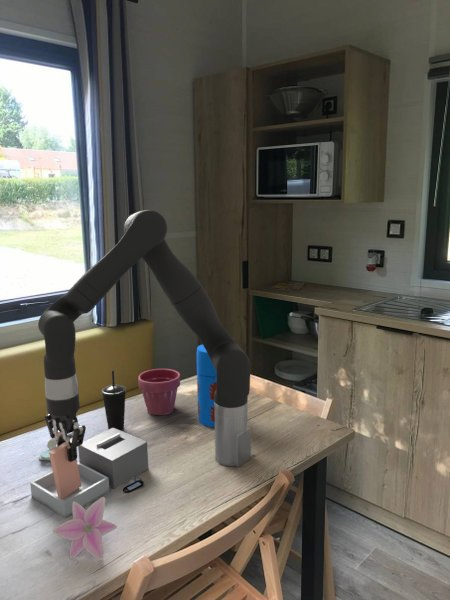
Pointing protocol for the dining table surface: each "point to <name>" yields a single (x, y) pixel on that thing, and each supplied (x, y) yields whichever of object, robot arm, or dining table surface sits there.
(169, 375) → the plant pot
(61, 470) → the tall pink plank
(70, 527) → the lily
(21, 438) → the dining table surface
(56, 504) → the bin
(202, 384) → the thermos
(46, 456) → the pacifier
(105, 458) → the dispenser
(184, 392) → the dining table surface
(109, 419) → the drinking cup
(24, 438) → the dining table surface
